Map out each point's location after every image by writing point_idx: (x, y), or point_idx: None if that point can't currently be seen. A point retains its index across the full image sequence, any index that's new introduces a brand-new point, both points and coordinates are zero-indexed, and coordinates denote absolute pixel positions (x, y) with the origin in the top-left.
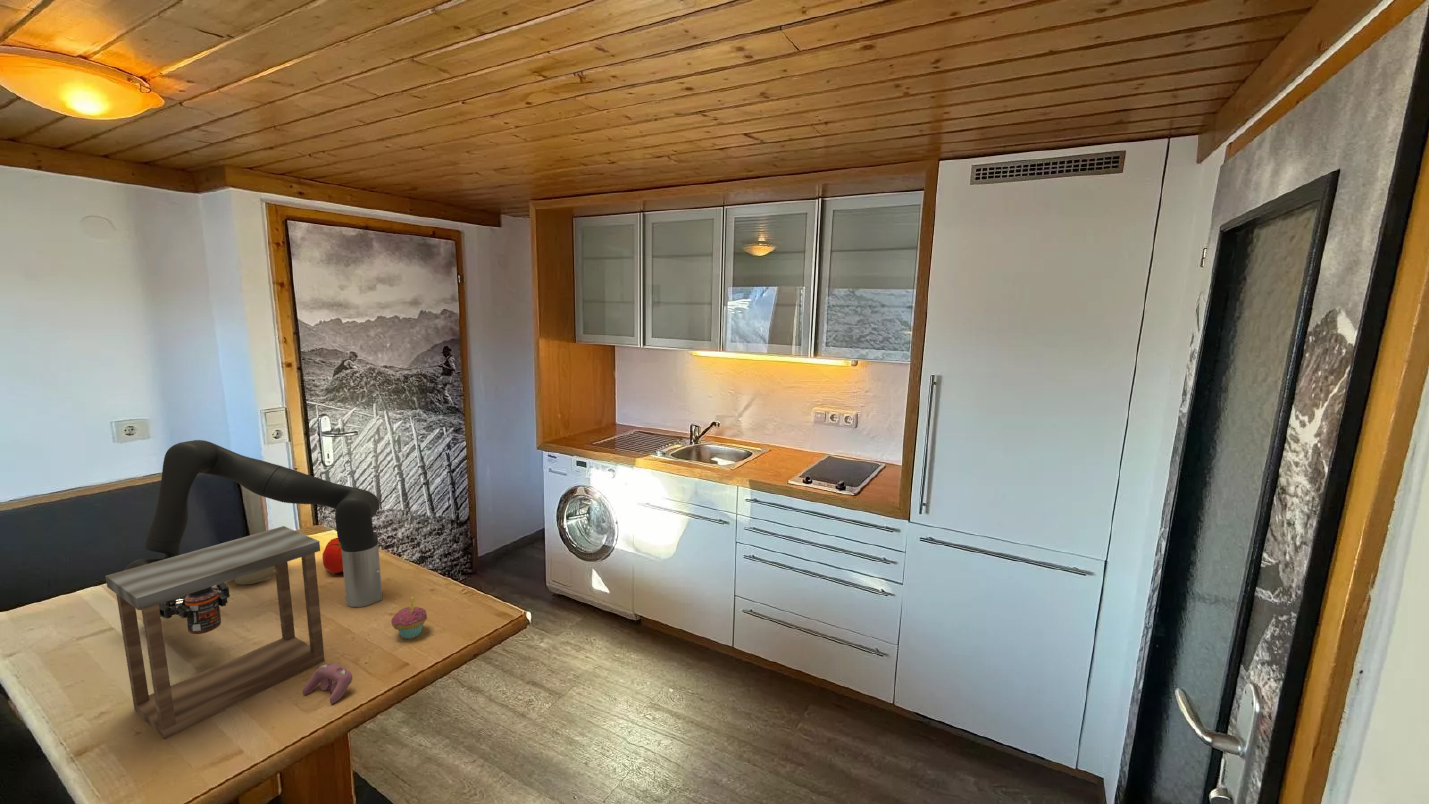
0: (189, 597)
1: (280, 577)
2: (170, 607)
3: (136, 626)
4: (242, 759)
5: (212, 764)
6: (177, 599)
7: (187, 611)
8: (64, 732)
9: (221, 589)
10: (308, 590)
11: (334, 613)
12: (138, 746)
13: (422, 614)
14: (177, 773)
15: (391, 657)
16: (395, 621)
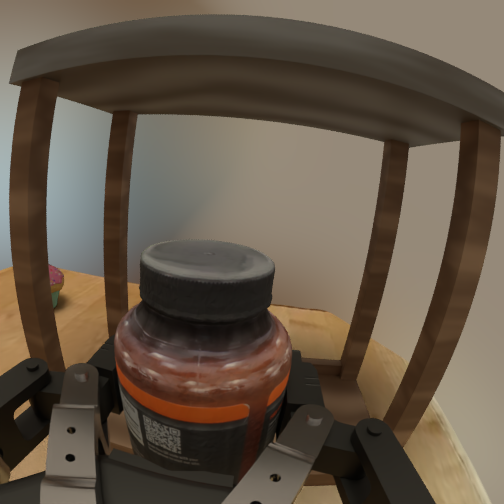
0: (274, 321)
1: (44, 223)
2: (356, 425)
3: (442, 269)
4: (294, 315)
5: (315, 325)
6: (303, 465)
7: (295, 350)
8: (466, 485)
9: (12, 420)
10: (128, 197)
11: None
12: (374, 392)
13: None
14: (342, 336)
15: (99, 302)
16: (56, 279)
